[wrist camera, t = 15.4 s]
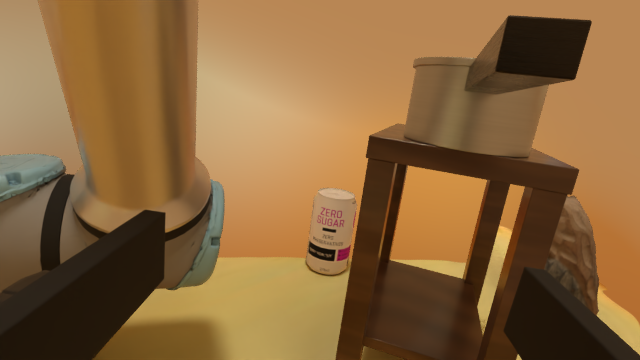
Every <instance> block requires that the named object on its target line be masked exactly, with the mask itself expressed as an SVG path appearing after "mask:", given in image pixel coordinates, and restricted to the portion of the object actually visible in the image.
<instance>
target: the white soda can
mask: <svg viewBox="0 0 640 360" xmlns="http://www.w3.org/2000/svg"><path fill="white" fill-rule="evenodd" d="M356 209H357V203H356V200H355V195H354V194H353V193H351V192H349V191H346V190H342V189H336V188H323V189H320V190H318V193H317V194H316V195H315V197H314V202H313V210H312V218H311V225H310V233H309V241H308V248H307V256H306V263H307V264H308V265H309V267H310V268H311V269H312V270H314V271H316V272H318V273H321V274H326V275H334V274H338V273H341V272H342V271H343V270H345V269H346V268H347V264H348V258H349V252H350V246H351V240H352V233H353V227H354V220H355V215H356Z"/></svg>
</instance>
